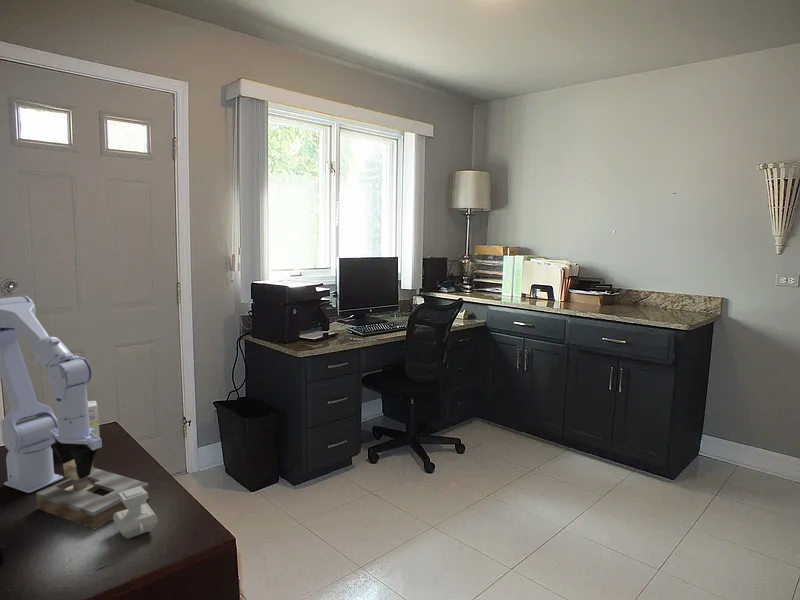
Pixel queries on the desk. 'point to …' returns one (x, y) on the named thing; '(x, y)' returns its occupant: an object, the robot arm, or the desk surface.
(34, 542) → the desk surface
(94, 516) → the keyhole base
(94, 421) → the ink box
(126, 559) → the desk surface
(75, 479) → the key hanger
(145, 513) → the stamp
